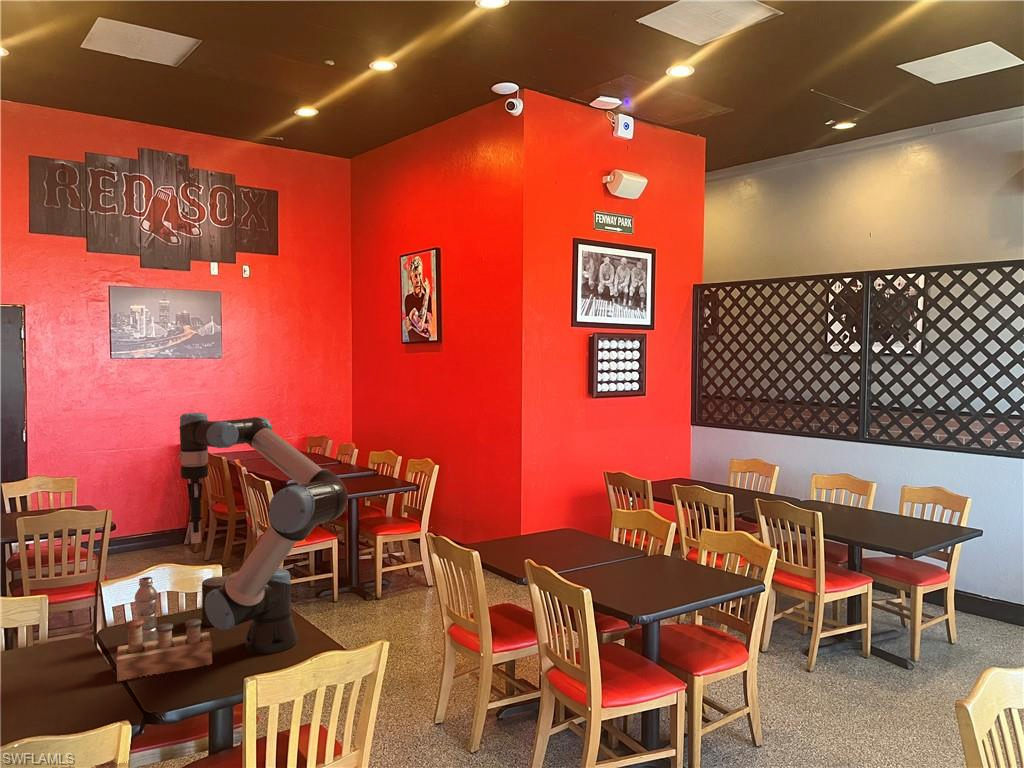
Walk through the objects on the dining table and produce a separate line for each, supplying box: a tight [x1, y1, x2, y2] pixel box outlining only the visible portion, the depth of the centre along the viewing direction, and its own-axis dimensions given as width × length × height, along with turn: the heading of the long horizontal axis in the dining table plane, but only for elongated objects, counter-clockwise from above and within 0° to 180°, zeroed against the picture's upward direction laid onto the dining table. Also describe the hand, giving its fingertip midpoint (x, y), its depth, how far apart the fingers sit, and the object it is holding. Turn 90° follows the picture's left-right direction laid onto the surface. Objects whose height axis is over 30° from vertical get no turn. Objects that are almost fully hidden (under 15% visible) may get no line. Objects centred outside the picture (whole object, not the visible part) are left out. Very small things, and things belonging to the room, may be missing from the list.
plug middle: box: [156, 622, 174, 649], centre depth 207 cm, size 4×4×11 cm
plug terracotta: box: [125, 618, 144, 654], centre depth 204 cm, size 4×4×11 cm
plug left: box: [184, 618, 203, 644], centre depth 211 cm, size 4×4×11 cm
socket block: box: [116, 631, 213, 682], centre depth 207 cm, size 24×10×6 cm, turn 117°
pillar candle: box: [201, 575, 229, 627], centre depth 242 cm, size 10×10×15 cm
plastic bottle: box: [134, 576, 158, 642], centre depth 224 cm, size 6×7×20 cm
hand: (196, 542), depth 219 cm, fingers closed
